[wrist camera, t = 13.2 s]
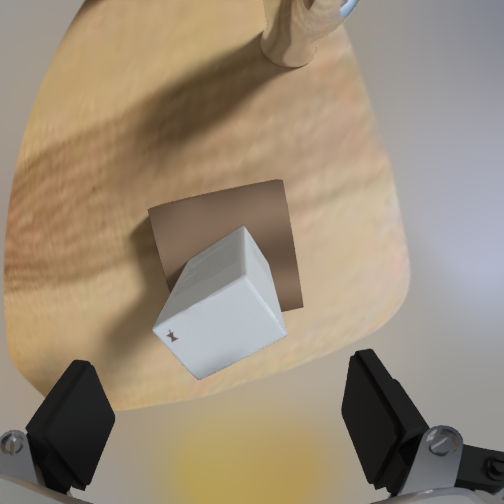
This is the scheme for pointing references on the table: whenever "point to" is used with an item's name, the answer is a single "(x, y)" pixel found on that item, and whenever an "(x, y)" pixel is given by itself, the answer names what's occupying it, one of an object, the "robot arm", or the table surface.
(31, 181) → the table surface
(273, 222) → the walnut block
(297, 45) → the beer glass
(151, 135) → the table surface
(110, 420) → the robot arm
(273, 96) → the table surface
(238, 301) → the skincare box
